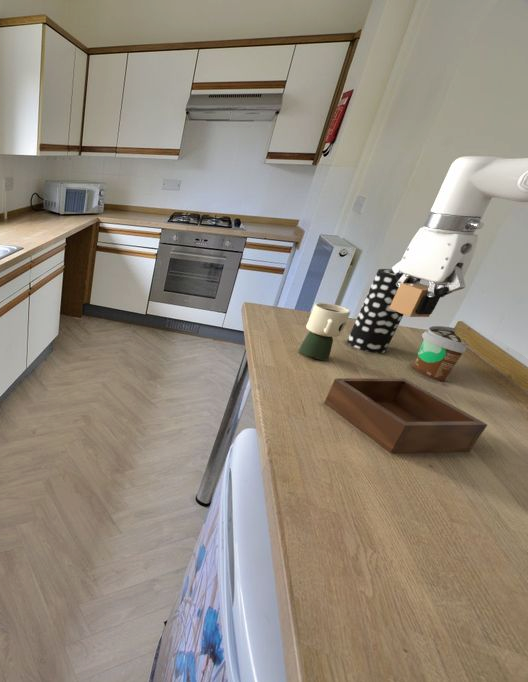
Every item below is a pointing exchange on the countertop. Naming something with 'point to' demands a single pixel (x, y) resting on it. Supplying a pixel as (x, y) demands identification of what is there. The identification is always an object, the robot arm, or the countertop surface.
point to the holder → (403, 415)
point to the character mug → (323, 329)
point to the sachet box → (409, 299)
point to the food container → (439, 352)
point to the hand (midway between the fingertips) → (410, 308)
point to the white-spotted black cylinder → (377, 315)
